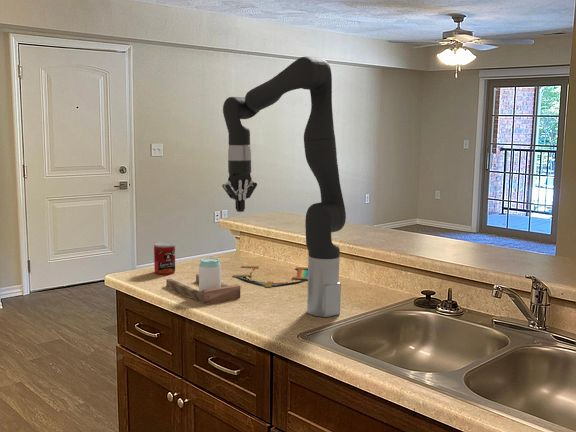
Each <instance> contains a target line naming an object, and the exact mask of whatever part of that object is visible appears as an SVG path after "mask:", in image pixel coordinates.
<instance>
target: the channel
mask: <svg viewBox="0 0 576 432" xmlns="http://www.w3.org/2000/svg"><path fill="white" fill-rule="evenodd" d="M195 282H197V283H198V284H199V273H198V274H195ZM165 284H166V287H167V288H169V289H171V290H173V291H176V292H178V293H180V294H183V295H184V296H186V297H189V298H191V299H192V300H195V301H198V302H200V303H202V304H203V305H210V304H214V303H221V302H226V301H230V300H231V301H232V300H235V299H240V298H241V285H239V284H238V283H237V284H236V283H235V284H232V285H228V284H226V283H224V282H221V287H219V288H213V289H207V290H202V292H200V291H199V290H197V289H195V288H193V287H191V286H188V285H186V284H184V283H182V282H179V281H177V280H174V279H173V278H166V283H165Z"/></svg>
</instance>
